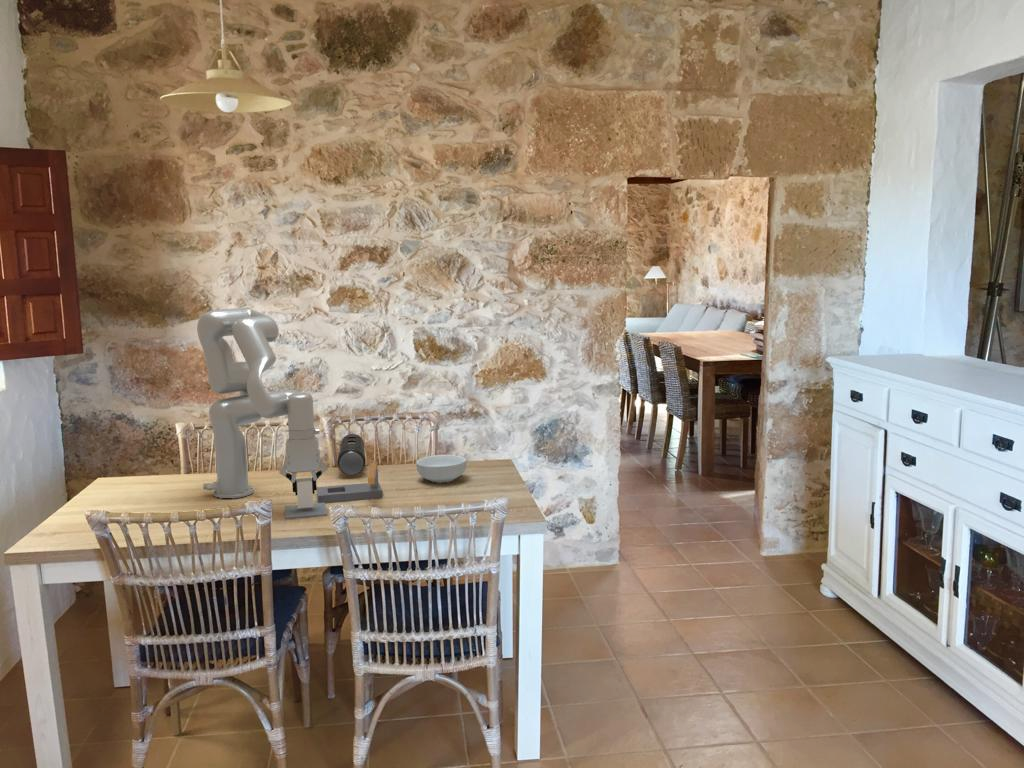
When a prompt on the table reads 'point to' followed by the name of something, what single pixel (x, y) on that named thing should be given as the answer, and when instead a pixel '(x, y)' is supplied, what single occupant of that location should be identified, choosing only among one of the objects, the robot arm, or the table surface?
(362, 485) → the socket block
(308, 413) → the robot arm
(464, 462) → the cereal bowl
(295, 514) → the mat
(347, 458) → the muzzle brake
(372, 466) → the orange wooden bar
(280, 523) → the table surface
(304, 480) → the plug
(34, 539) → the table surface
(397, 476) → the table surface
